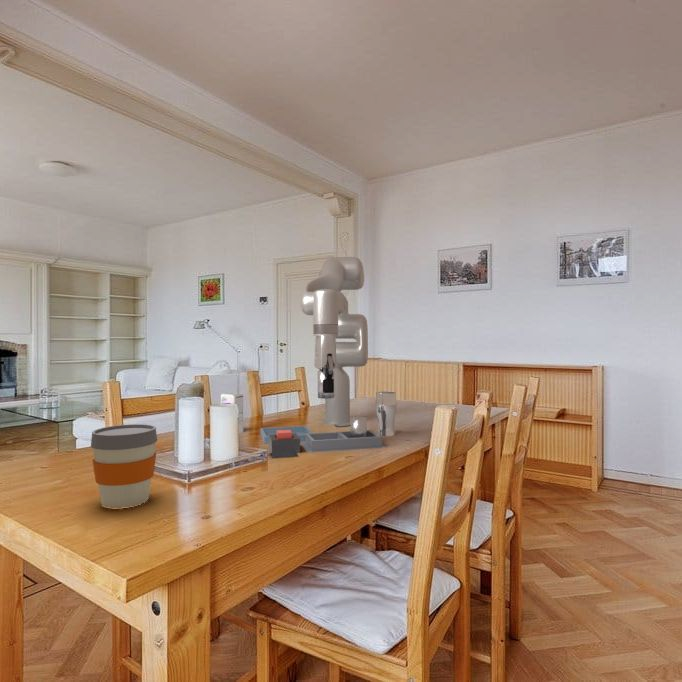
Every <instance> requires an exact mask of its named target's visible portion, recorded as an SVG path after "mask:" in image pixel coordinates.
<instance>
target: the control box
mask: <svg viewBox="0 0 682 682" xmlns="http://www.w3.org/2000/svg"><path fill="white" fill-rule="evenodd" d="M300 443H301V442H300V438H299V437H298V435H297V434H296V433H292V438H284V439H276V434H272V435H269V444H268V449H269V451H270V453H269V455H270V458H271V459H279V458H280V459H281V458H295V456H297V457H299V455H298V454H300V453H301V444H300Z"/></svg>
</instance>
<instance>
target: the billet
mask: <svg viewBox="0 0 682 682" xmlns="http://www.w3.org/2000/svg"><path fill="white" fill-rule="evenodd" d="M326 372H327V371H326ZM333 374H334V371H333ZM323 379H324V373H323V370H320V371H319V370H317V398H318V399H324V400H325V399H329V398H334V392H333V393H323Z"/></svg>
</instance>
